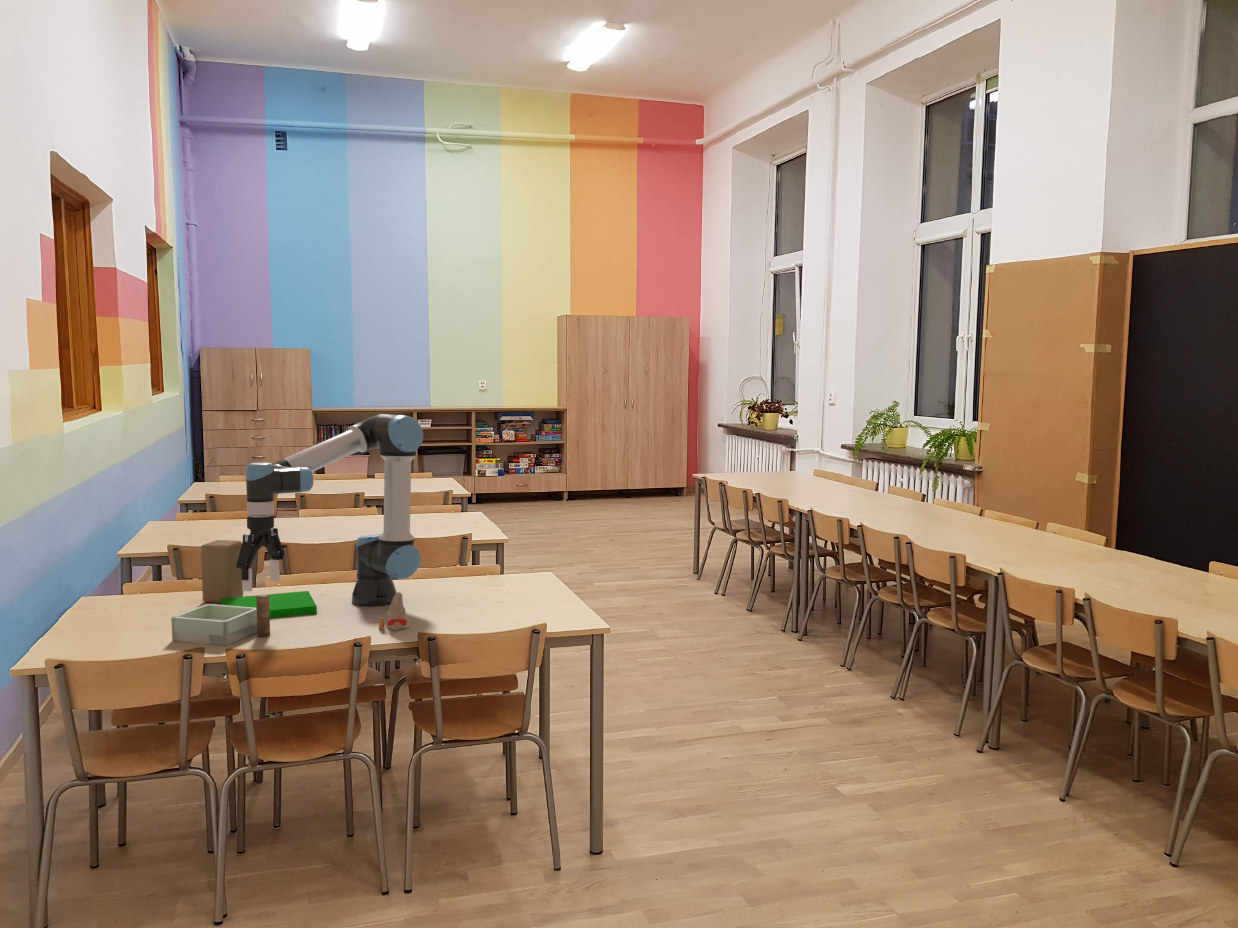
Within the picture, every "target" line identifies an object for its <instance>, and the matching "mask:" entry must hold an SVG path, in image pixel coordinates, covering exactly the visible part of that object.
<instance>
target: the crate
mask: <svg viewBox="0 0 1238 928" xmlns="http://www.w3.org/2000/svg"><path fill="white" fill-rule="evenodd" d="M170 620H171V640H172V642H178V643H179V642H181V643H193V644H204V645H212V646H213V645H214V646H223V647H226V646H230V645H231V644H234V643H236V642H238V641H240V640H242V639H244V638H248V637H249V636H251V635H253V634H257V608H252V607H240V606H227V605H221V604H216V603H213V604H212V603H207V604H203V605H201V606H198V607H195V608H193V609H190V610H188V611H187V610H186V612H183V613H180V614H177V615H174V616H171V618H170Z"/></svg>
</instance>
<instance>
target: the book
mask: <svg viewBox="0 0 1238 928" xmlns="http://www.w3.org/2000/svg"><path fill="white" fill-rule="evenodd" d="M258 595H259V594H257V595H247V596H246V595H245V596H244V595H243V596H242V597H233V598H221V599H220V600H221V603H220V605H227V606H240V607H252V608H257V606H256V596H258ZM266 595H269V608H270V619H274V618H284V617H286V618H287V617H295V616H296V617H298V616H306V615H307V616H308V615H316V614H318V612H317V611H318V608H317V604H316V603H315V600H314V598H313V597H312V595H311V593H310V591H309V590H303V591H301V590H300V591H293V592H283V593H282V592H281V593H279V592H278V593H271V594H269V593H268V594H266Z"/></svg>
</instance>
